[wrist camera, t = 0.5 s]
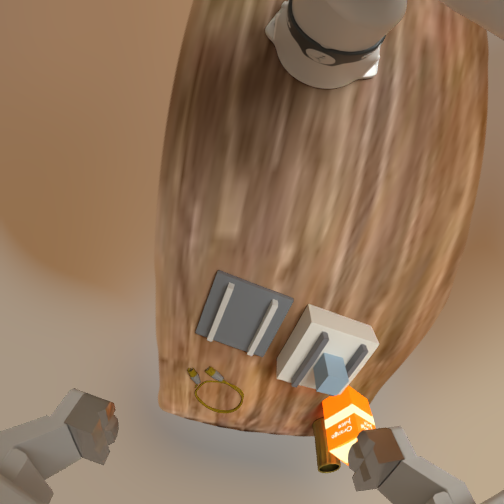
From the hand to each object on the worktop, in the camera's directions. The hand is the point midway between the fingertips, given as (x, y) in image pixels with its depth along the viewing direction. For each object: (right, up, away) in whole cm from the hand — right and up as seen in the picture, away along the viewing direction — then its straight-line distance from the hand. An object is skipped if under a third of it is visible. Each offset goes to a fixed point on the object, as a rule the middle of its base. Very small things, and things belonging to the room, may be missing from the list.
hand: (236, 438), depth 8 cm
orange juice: (+22, -29, +52) cm, 64 cm away
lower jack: (-1, -6, +45) cm, 45 cm away
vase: (+19, -38, +55) cm, 70 cm away
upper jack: (+14, -12, +46) cm, 50 cm away
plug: (+14, -14, +40) cm, 45 cm away
